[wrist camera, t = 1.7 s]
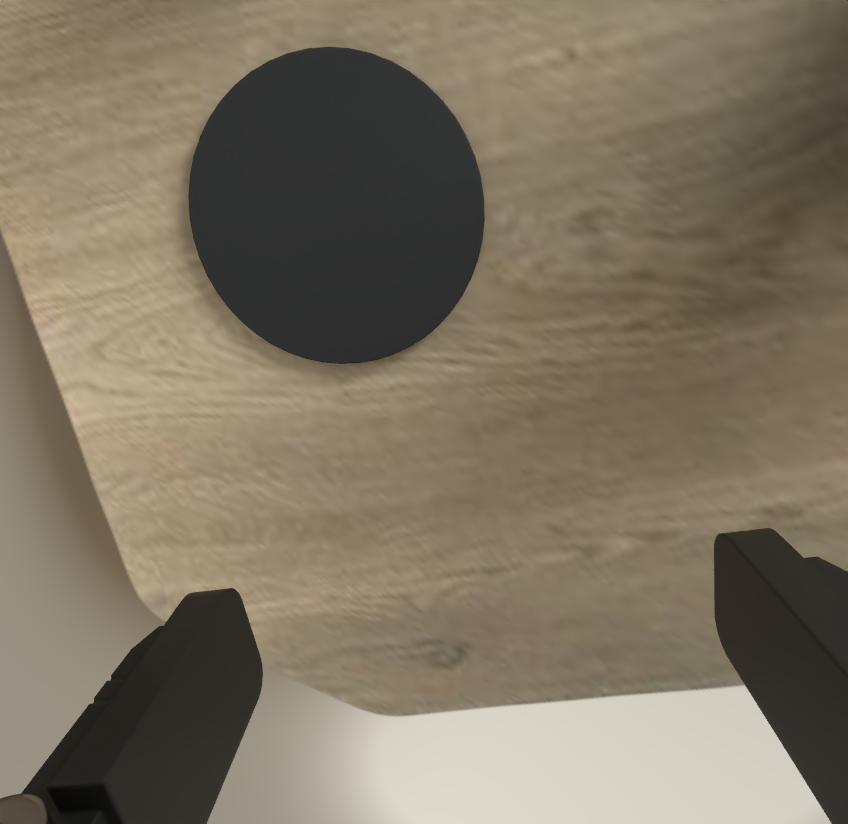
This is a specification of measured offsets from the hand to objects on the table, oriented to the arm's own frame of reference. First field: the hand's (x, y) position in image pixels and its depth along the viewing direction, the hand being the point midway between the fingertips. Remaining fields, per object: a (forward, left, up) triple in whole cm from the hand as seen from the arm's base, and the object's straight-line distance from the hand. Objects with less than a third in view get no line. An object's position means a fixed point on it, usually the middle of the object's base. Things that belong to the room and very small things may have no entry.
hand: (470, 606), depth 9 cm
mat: (-2, -9, -24) cm, 26 cm away
